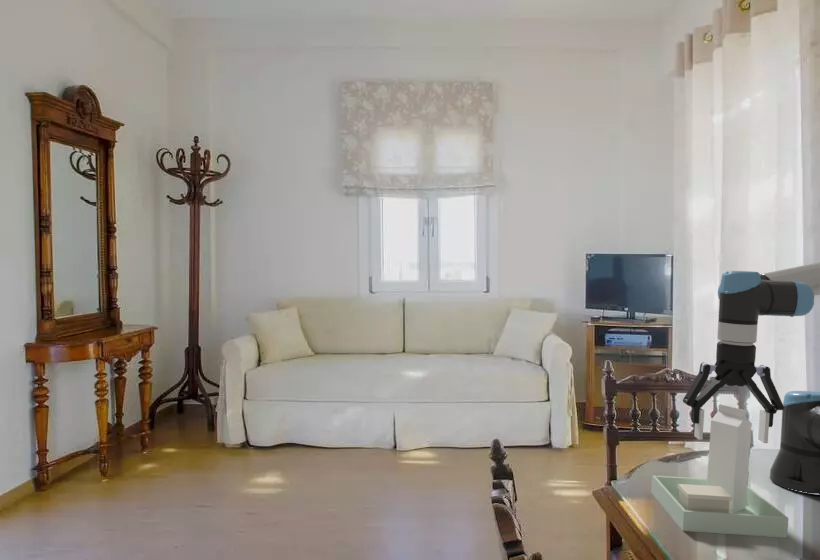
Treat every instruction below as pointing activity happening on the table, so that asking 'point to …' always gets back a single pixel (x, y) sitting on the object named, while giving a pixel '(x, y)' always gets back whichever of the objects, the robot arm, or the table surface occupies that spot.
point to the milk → (730, 454)
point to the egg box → (704, 498)
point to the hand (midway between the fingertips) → (730, 439)
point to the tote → (749, 521)
